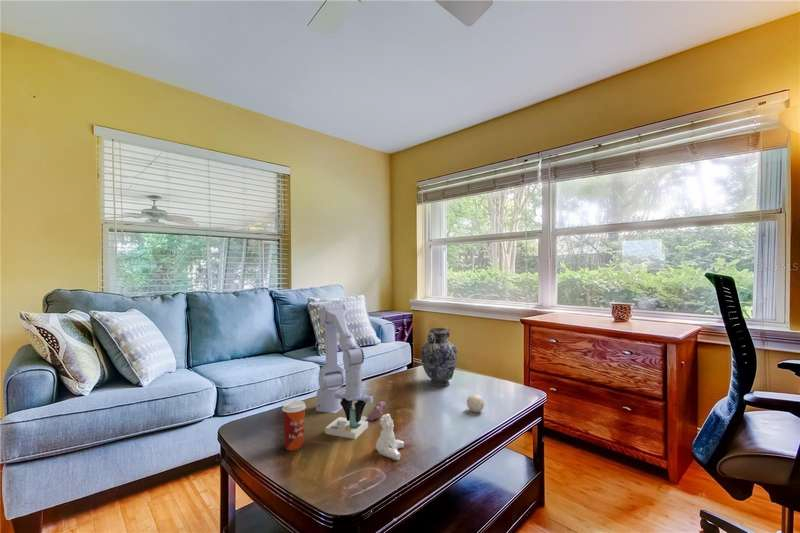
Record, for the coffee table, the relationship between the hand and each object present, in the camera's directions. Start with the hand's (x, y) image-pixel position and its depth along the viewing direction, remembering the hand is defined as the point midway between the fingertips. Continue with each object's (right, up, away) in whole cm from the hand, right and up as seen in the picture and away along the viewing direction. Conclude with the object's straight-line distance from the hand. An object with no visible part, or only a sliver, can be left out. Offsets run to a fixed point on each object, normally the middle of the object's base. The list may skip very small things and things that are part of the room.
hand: (353, 420), depth 126 cm
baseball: (+48, -4, +18) cm, 51 cm away
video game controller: (+8, -5, +13) cm, 16 cm away
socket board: (-3, -4, +1) cm, 5 cm away
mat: (0, -4, +10) cm, 11 cm away
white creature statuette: (+13, -4, -14) cm, 20 cm away
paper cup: (-18, -5, -10) cm, 21 cm away
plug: (0, -3, 0) cm, 3 cm away
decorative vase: (+37, -5, +54) cm, 65 cm away
